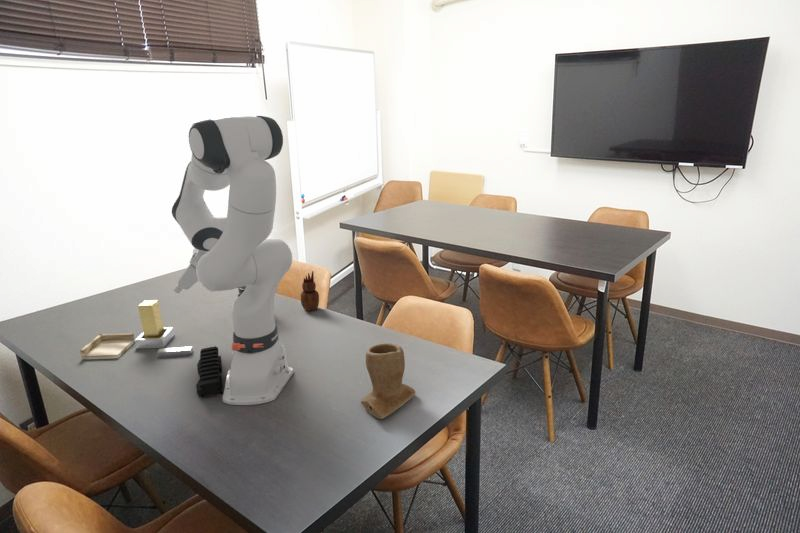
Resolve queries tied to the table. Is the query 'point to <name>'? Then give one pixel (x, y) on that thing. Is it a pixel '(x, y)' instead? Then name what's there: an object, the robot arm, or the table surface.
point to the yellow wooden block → (151, 319)
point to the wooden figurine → (309, 294)
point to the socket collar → (155, 339)
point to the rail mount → (209, 372)
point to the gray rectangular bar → (174, 351)
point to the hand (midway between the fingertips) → (181, 285)
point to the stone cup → (386, 380)
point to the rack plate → (108, 346)
